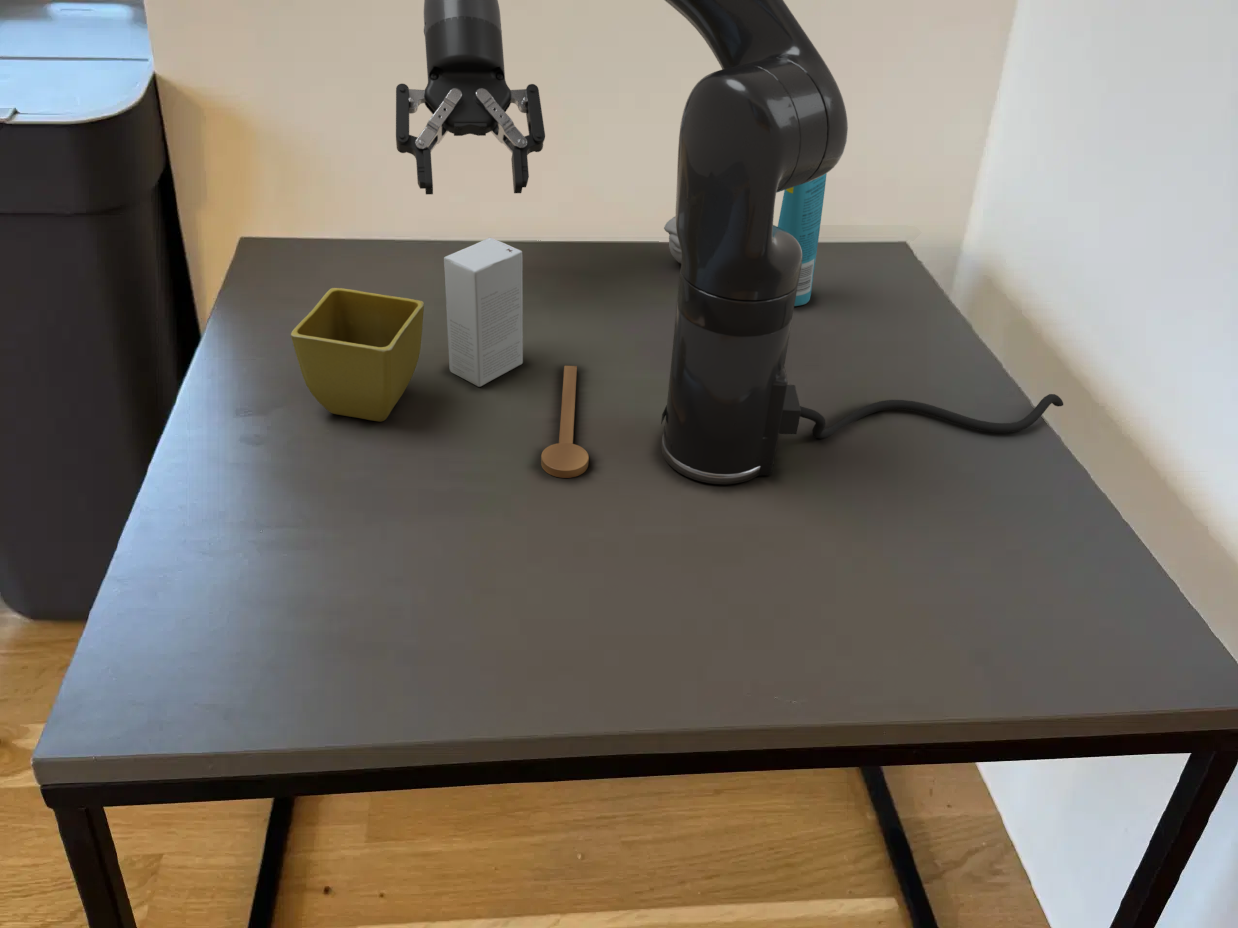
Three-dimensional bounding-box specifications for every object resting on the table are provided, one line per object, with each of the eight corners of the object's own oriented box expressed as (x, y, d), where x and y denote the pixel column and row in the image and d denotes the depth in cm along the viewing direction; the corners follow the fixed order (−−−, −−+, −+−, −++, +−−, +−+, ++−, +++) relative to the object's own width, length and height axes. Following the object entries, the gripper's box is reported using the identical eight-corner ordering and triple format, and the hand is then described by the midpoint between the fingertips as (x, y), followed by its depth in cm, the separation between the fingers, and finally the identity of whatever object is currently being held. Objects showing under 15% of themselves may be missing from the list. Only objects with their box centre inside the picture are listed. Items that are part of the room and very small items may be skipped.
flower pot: (395, 440, 95) (389, 349, 90) (299, 423, 96) (287, 333, 91) (430, 387, 102) (425, 300, 97) (340, 372, 103) (331, 286, 98)
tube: (778, 278, 124) (805, 109, 113) (819, 290, 122) (851, 119, 111) (754, 305, 119) (779, 129, 107) (796, 317, 117) (827, 140, 106)
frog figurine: (724, 277, 124) (731, 219, 119) (661, 274, 123) (667, 216, 119) (719, 253, 128) (726, 196, 124) (659, 250, 128) (664, 193, 124)
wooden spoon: (591, 372, 106) (591, 364, 105) (587, 479, 92) (588, 471, 92) (549, 369, 106) (549, 362, 105) (539, 477, 92) (540, 469, 91)
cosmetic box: (492, 348, 108) (491, 235, 101) (523, 365, 106) (525, 250, 99) (446, 372, 104) (442, 255, 97) (478, 389, 102) (476, 271, 95)
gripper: (388, 12, 104) (398, 176, 101) (539, 14, 106) (551, 174, 104) (391, 53, 111) (400, 207, 109) (532, 54, 114) (544, 204, 111)
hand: (474, 191), depth 106 cm, fingers open, 8 cm apart
